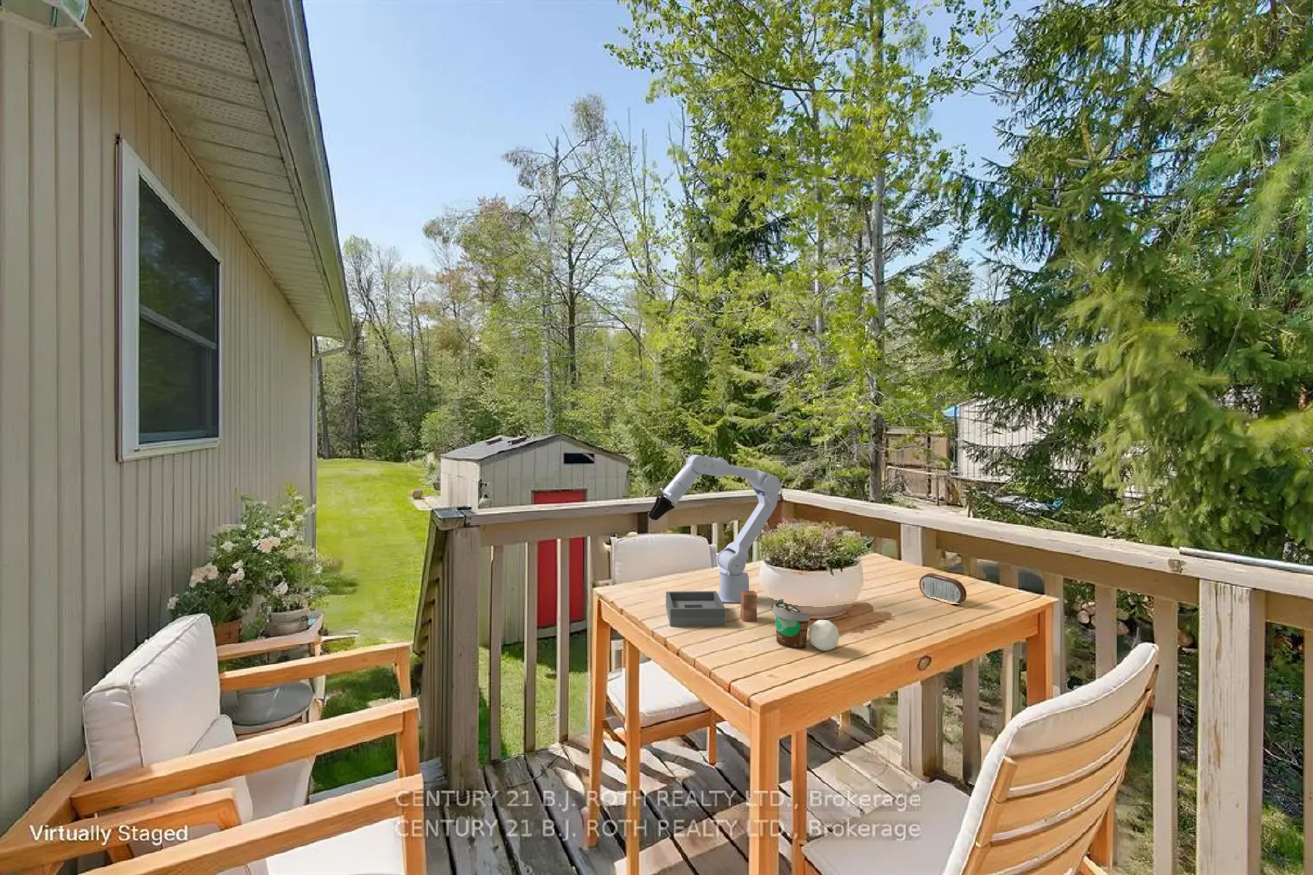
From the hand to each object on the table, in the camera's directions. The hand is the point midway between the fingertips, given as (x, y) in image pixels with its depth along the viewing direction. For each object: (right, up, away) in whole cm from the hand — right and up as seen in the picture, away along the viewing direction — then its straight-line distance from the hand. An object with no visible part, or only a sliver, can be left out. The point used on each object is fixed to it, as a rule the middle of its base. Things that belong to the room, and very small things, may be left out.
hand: (651, 518), depth 180 cm
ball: (+45, -31, -29) cm, 62 cm away
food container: (+36, -30, -26) cm, 54 cm away
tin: (+96, -29, +10) cm, 101 cm away
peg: (+29, -29, -8) cm, 42 cm away
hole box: (+13, -29, -6) cm, 32 cm away
